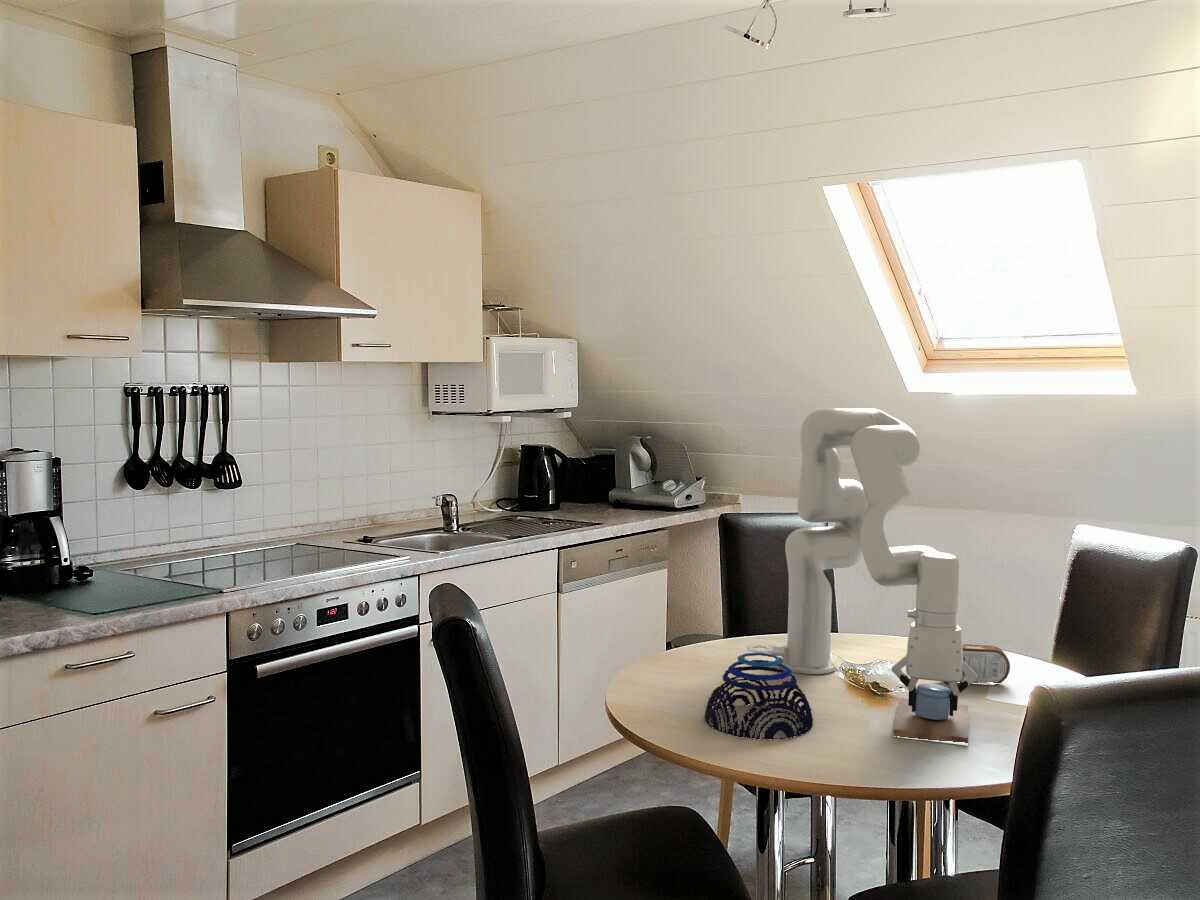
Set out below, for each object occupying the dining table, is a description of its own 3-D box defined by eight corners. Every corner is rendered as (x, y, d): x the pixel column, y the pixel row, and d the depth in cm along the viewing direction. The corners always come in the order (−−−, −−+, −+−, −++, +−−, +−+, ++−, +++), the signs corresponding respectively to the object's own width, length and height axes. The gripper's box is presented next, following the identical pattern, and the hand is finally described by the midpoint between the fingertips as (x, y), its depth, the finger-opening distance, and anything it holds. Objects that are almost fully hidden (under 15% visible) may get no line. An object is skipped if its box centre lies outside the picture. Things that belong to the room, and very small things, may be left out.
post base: (893, 737, 201) (893, 729, 201) (899, 705, 220) (899, 697, 220) (968, 746, 197) (968, 737, 197) (967, 712, 216) (968, 705, 216)
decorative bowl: (728, 744, 197) (730, 666, 195) (690, 709, 216) (692, 638, 215) (830, 735, 202) (832, 659, 201) (784, 702, 221) (786, 632, 220)
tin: (1006, 683, 236) (1008, 645, 235) (1010, 687, 233) (1012, 648, 232) (935, 680, 238) (936, 642, 237) (938, 684, 234) (939, 646, 234)
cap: (930, 720, 204) (933, 694, 203) (908, 710, 209) (910, 685, 209) (955, 717, 207) (957, 691, 206) (932, 707, 212) (934, 682, 211)
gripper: (887, 619, 206) (884, 712, 207) (985, 627, 200) (980, 723, 202) (890, 610, 213) (886, 701, 214) (984, 618, 207) (980, 711, 209)
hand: (932, 711), depth 208 cm, fingers closed on cap, 6 cm apart
